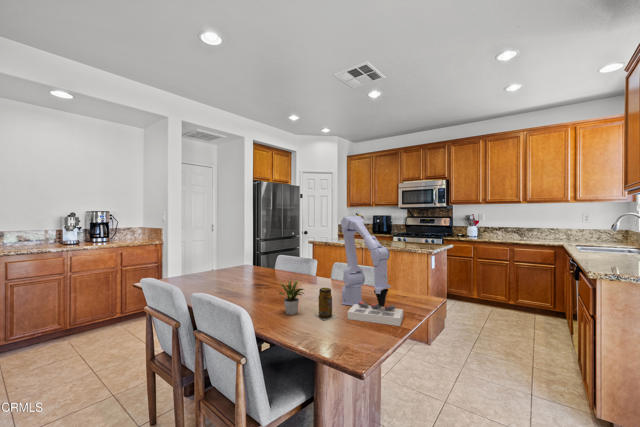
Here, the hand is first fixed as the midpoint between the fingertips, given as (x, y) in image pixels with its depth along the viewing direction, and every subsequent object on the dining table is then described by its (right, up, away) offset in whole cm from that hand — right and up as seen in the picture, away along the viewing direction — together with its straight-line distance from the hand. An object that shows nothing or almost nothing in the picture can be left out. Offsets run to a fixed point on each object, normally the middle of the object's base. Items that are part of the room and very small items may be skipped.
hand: (381, 306), depth 126 cm
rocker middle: (-2, -1, +1) cm, 2 cm away
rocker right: (+3, -1, -1) cm, 4 cm away
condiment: (-24, -5, +2) cm, 25 cm away
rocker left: (-8, -1, +3) cm, 8 cm away
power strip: (-2, -5, +1) cm, 5 cm away
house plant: (-41, -6, +6) cm, 42 cm away
